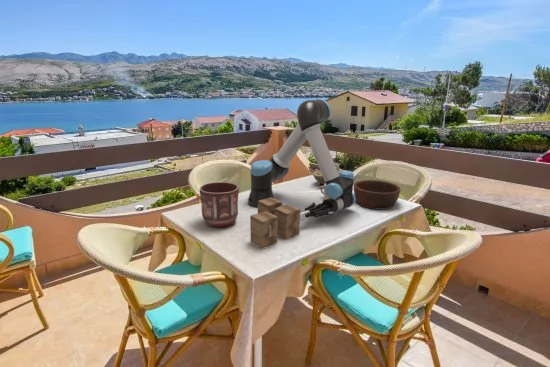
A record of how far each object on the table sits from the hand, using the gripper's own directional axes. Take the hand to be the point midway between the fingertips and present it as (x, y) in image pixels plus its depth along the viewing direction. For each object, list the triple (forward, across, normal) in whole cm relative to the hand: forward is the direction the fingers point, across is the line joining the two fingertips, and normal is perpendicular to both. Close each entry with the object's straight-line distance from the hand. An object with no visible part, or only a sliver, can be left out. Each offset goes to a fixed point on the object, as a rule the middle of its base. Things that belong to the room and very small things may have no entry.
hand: (298, 216), depth 144 cm
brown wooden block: (+7, 0, -6) cm, 10 cm away
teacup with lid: (-43, +18, -6) cm, 47 cm away
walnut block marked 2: (+7, +12, -6) cm, 15 cm away
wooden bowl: (-58, -3, -7) cm, 59 cm away
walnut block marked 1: (+20, 0, -6) cm, 21 cm away
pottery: (+24, +29, -6) cm, 38 cm away
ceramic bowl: (-62, +36, -6) cm, 73 cm away
